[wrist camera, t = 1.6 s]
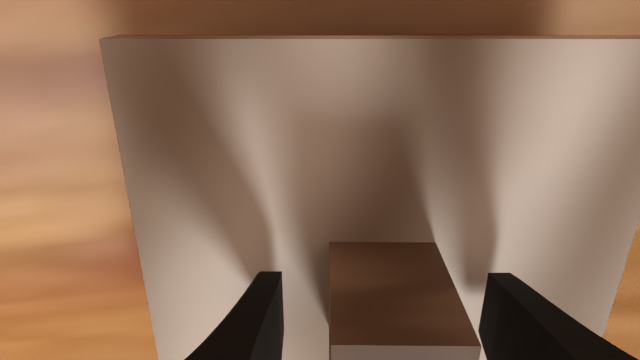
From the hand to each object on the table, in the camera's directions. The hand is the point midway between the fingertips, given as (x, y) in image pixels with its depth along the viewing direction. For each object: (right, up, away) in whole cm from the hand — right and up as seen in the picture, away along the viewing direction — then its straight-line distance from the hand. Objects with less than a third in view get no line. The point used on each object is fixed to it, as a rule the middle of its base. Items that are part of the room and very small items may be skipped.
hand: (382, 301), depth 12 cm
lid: (0, +1, +2) cm, 2 cm away
